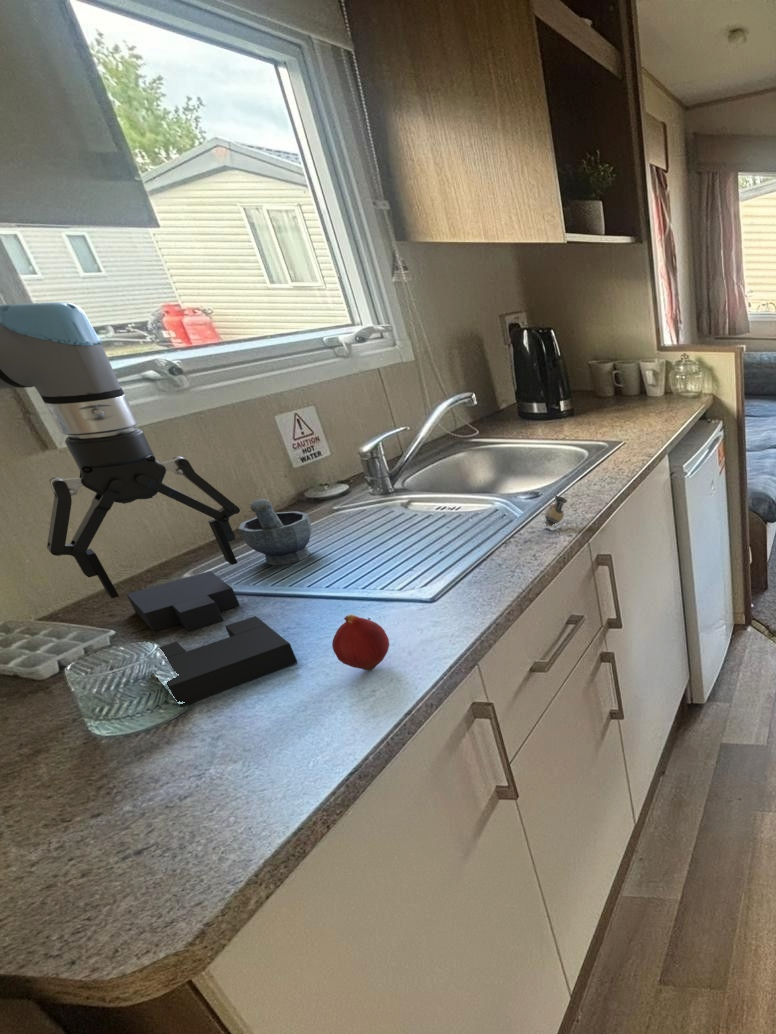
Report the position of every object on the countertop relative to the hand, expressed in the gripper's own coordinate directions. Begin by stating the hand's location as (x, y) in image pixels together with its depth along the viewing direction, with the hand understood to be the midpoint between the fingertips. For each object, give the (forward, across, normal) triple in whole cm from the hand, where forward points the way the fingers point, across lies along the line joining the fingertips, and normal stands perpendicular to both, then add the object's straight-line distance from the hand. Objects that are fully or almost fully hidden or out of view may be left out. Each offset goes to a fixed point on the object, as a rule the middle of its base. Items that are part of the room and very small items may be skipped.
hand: (175, 577), depth 96 cm
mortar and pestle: (+5, +16, +9) cm, 19 cm away
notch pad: (+5, -2, -24) cm, 24 cm away
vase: (+6, +54, -15) cm, 56 cm away
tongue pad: (+5, 0, -2) cm, 5 cm away
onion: (+6, +9, -39) cm, 40 cm away
